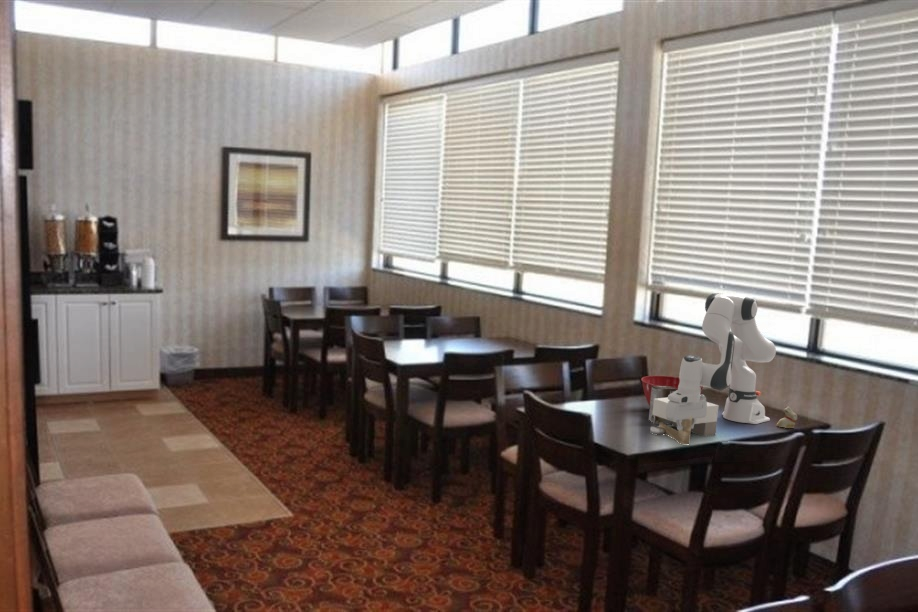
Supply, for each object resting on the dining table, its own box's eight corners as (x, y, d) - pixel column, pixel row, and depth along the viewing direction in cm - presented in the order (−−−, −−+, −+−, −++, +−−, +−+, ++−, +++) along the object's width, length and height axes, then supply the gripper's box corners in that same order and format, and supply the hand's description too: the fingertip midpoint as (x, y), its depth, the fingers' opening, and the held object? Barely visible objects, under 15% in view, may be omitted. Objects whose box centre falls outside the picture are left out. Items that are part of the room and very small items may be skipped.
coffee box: (666, 420, 368) (670, 385, 367) (673, 424, 362) (676, 389, 360) (647, 420, 367) (651, 385, 365) (654, 424, 360) (657, 388, 358)
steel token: (658, 431, 349) (659, 425, 349) (667, 435, 343) (668, 429, 343) (647, 432, 347) (647, 426, 346) (655, 436, 341) (656, 430, 341)
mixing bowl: (637, 416, 372) (640, 383, 370) (639, 403, 400) (642, 372, 398) (701, 424, 366) (705, 390, 364) (698, 410, 393) (702, 379, 391)
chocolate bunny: (792, 430, 366) (795, 408, 365) (775, 426, 371) (777, 405, 370) (796, 428, 371) (799, 407, 369) (779, 424, 376) (781, 403, 374)
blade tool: (663, 430, 350) (666, 403, 349) (689, 445, 330) (692, 416, 328) (656, 430, 350) (659, 402, 348) (682, 445, 329) (685, 415, 328)
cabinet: (683, 424, 364) (686, 395, 362) (715, 435, 349) (718, 405, 347) (649, 428, 352) (652, 398, 351) (681, 439, 337) (684, 408, 336)
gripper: (700, 392, 337) (696, 425, 338) (664, 395, 326) (661, 429, 328) (712, 395, 332) (708, 429, 333) (676, 399, 321) (673, 433, 322)
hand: (685, 429), depth 330 cm, fingers open, 5 cm apart
